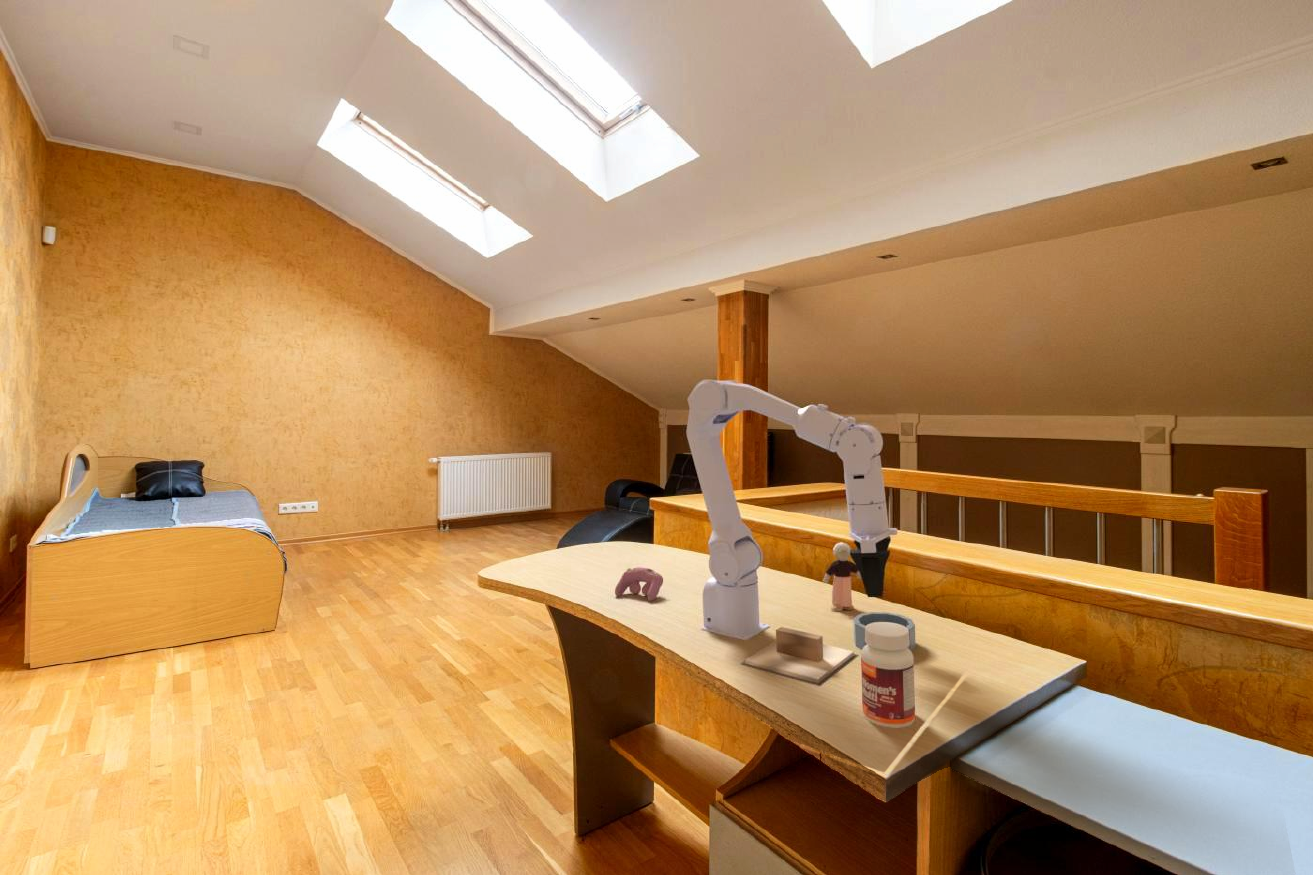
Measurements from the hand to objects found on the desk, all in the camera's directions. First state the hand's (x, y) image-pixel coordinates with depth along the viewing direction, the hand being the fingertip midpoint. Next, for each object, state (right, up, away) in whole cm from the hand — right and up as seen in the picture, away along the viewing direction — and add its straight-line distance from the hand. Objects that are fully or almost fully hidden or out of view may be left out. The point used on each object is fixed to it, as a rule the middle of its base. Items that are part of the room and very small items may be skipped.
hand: (875, 589), depth 97 cm
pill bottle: (-5, -12, -19) cm, 23 cm away
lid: (-12, -10, -1) cm, 16 cm away
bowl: (+3, -10, +3) cm, 11 cm away
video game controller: (-37, -11, +36) cm, 53 cm away
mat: (-12, -11, -1) cm, 16 cm away
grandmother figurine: (+2, -9, +22) cm, 24 cm away
